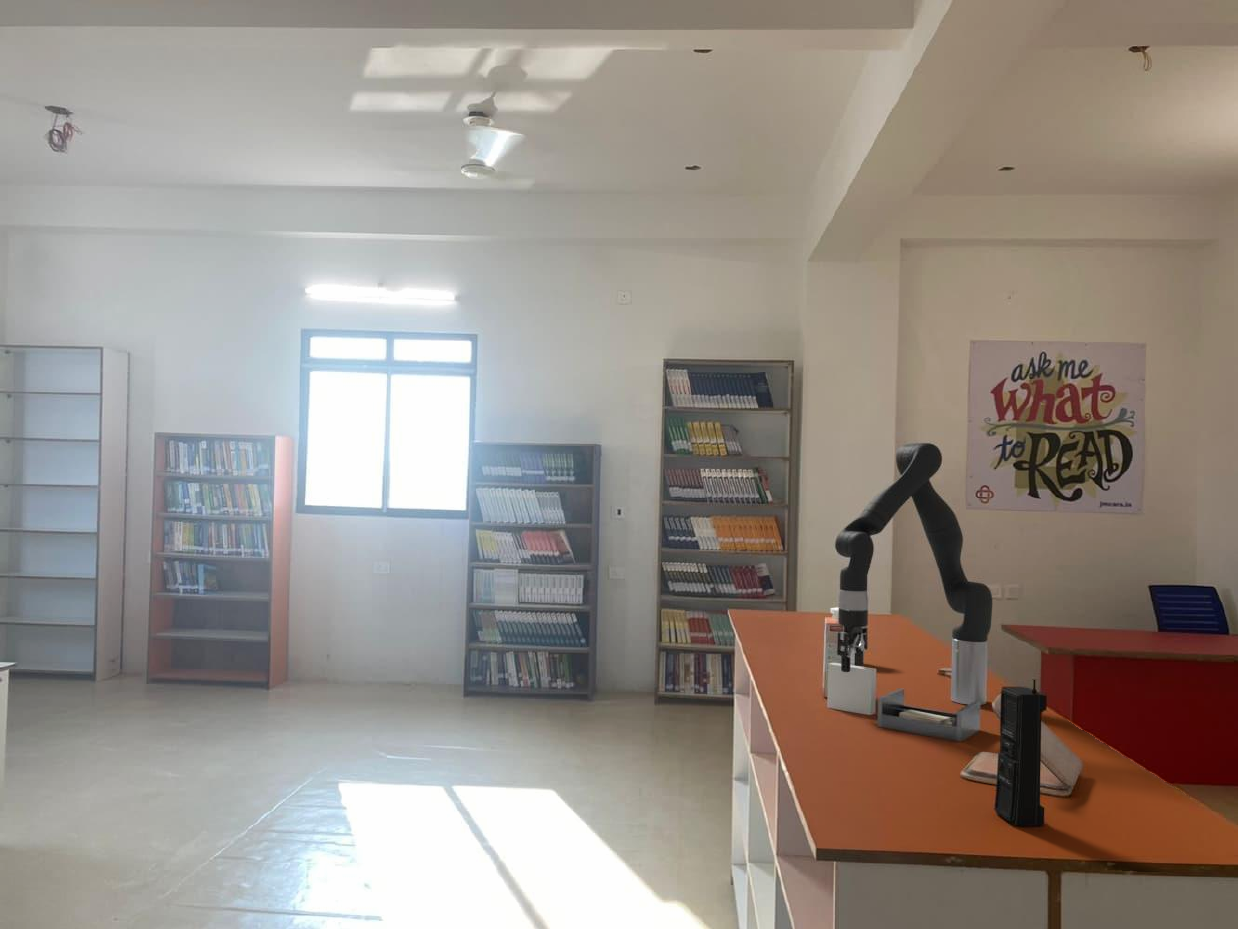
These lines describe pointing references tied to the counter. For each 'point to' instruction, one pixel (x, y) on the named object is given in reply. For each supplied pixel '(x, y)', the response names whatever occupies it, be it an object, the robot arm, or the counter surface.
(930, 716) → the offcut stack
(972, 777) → the case
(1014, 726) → the portable radio
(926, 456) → the robot arm
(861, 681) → the tall board
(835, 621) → the cracker box
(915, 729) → the rack
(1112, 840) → the counter surface
